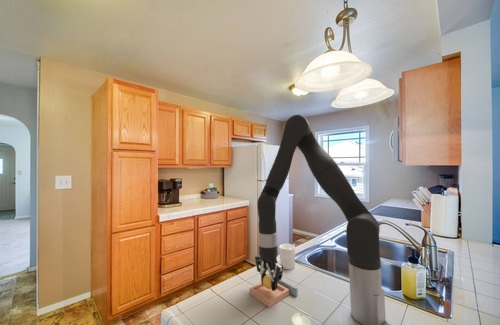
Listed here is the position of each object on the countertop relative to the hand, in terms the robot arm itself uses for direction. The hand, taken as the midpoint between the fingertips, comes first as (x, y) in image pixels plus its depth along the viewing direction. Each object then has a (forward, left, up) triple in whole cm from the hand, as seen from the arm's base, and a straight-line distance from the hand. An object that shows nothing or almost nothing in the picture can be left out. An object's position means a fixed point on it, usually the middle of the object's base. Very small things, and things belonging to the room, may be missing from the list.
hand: (269, 286), depth 81 cm
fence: (0, -7, -3) cm, 8 cm away
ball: (0, 0, +2) cm, 2 cm away
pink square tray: (0, 0, -3) cm, 3 cm away
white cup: (+10, -23, -3) cm, 25 cm away
